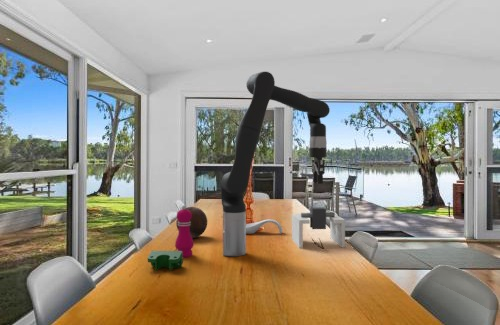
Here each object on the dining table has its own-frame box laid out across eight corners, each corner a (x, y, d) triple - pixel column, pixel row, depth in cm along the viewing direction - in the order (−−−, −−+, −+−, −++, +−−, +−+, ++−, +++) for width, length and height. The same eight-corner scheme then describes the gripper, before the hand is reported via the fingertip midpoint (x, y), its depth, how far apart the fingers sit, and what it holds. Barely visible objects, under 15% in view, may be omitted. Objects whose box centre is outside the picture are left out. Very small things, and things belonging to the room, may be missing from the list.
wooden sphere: (211, 235, 195) (210, 205, 195) (202, 241, 181) (202, 209, 180) (182, 234, 198) (182, 204, 198) (171, 240, 183) (171, 208, 183)
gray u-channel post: (312, 229, 173) (312, 209, 173) (310, 227, 178) (310, 207, 178) (325, 229, 173) (325, 208, 173) (323, 227, 178) (323, 207, 178)
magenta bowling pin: (197, 254, 157) (196, 204, 157) (186, 258, 151) (186, 207, 150) (182, 252, 160) (181, 204, 160) (171, 256, 154) (171, 206, 153)
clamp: (154, 282, 136) (142, 260, 134) (159, 273, 142) (147, 252, 140) (184, 270, 134) (172, 248, 132) (188, 261, 140) (176, 240, 138)
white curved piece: (234, 234, 197) (234, 220, 197) (238, 230, 209) (238, 217, 209) (281, 236, 194) (281, 221, 194) (283, 231, 205) (283, 218, 205)
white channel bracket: (299, 248, 167) (299, 215, 167) (292, 239, 185) (292, 209, 185) (344, 247, 168) (345, 215, 168) (333, 238, 186) (333, 209, 186)
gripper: (306, 147, 182) (306, 181, 182) (313, 146, 168) (313, 184, 168) (322, 147, 182) (322, 181, 183) (330, 146, 168) (330, 184, 169)
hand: (317, 182), depth 175 cm, fingers open, 8 cm apart
